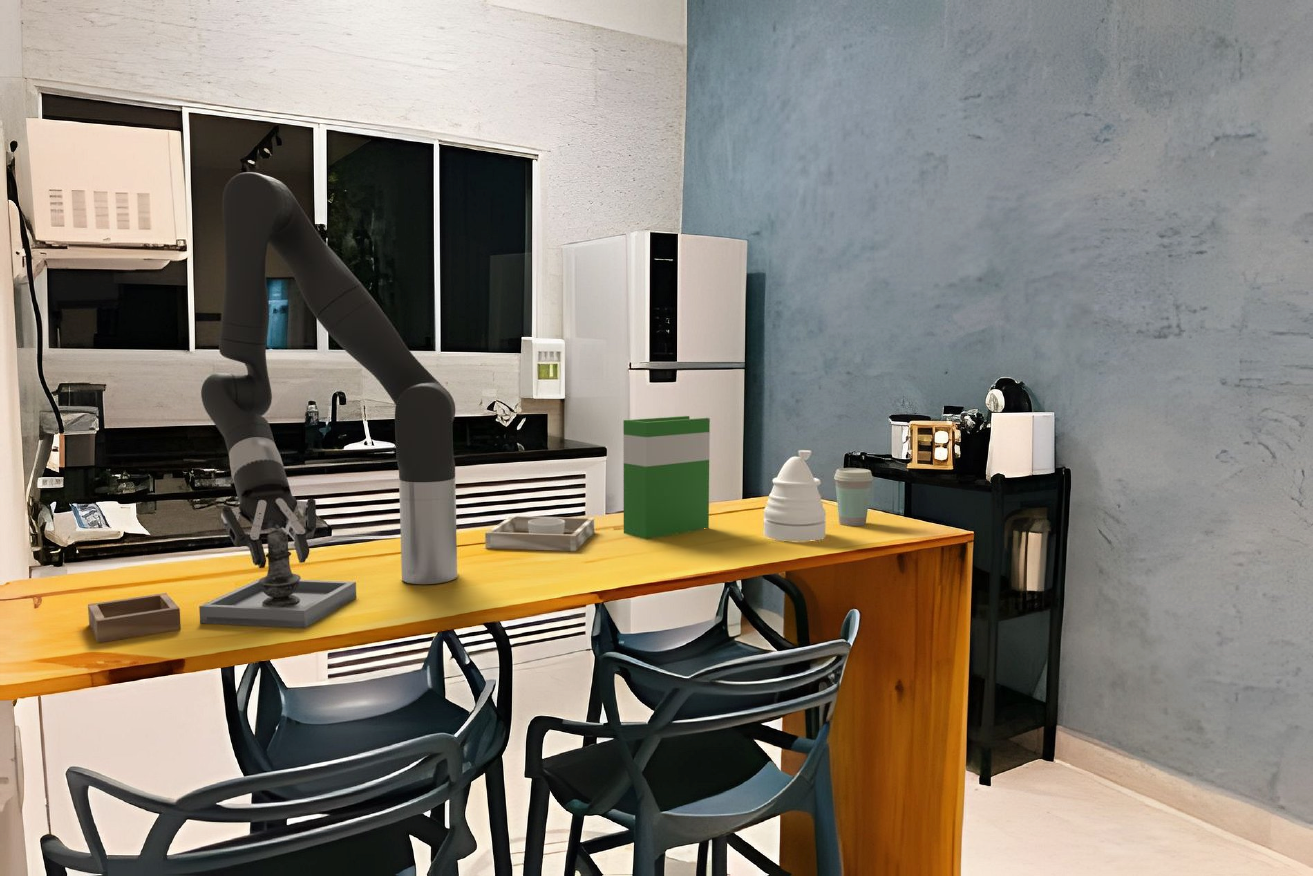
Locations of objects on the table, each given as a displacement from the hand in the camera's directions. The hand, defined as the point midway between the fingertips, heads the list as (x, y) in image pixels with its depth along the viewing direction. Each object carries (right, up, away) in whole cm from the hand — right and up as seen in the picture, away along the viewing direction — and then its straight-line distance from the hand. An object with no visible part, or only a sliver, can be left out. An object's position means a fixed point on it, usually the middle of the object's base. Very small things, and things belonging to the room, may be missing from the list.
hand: (283, 562), depth 138 cm
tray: (-1, -7, +2) cm, 8 cm away
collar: (-18, -8, -6) cm, 21 cm away
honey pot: (+84, -2, +57) cm, 102 cm away
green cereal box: (+58, -2, +62) cm, 84 cm away
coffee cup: (+99, -1, +70) cm, 121 cm away
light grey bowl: (+33, -3, +49) cm, 59 cm away
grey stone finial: (-1, -7, +2) cm, 7 cm away
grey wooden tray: (+32, -2, +52) cm, 61 cm away
